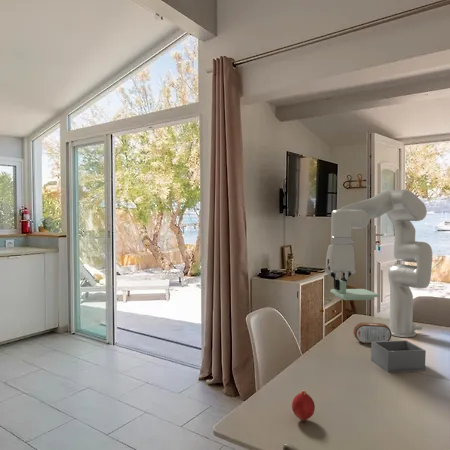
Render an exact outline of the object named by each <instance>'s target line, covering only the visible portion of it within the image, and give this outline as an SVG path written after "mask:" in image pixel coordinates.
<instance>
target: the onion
mask: <svg viewBox="0 0 450 450" xmlns="http://www.w3.org/2000/svg"><path fill="white" fill-rule="evenodd" d="M291 411H292V412H293V414H294V415H295V416H296V417H297V419H299V420H300V421H302V422H306V421H308V419H310V418H311V417H313V415H314V413H315V411H316V406H315V401H314V400H313V398H312V397H311V395H309V394H308V393H307V391H306V390H302V391H301V392H300V393H298V394H296V395H295V396H294V398H293V400H292V403H291Z"/></svg>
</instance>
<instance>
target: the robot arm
mask: <svg viewBox="0 0 450 450" xmlns="http://www.w3.org/2000/svg"><path fill="white" fill-rule="evenodd" d="M427 212H428V211H427V207H426V204H425V203H424V202H423V201H422V199H420V198H419V197H418V196H417V195H416V194H415V193H413V192H412V191H410V190H409V189H389V190H384V191H382V192H380V193H378V194H376V195H374V196H372V197H371V198H367V199H363V200H360V201H358V202H353V203H350V204H347V205H344V206H342V207H340V208H339V209H334V210H332V211H331V216H330V217H331V218H330V219H331V223H330V225H331V227H330V229H331V230H330V232H331V233H330V244H328V247H327V252H326V256H325V257H326V258H325V271H324V273H325V274H327V275H330V276H331V278H332V279H333V289H336V290H339V287H340V280H342V281H345V282H346V288H347V287H348V286H347V285H348V281H347V280H348V279H349V277H351V276H352V275H354V274H356V271H357V270H356V268H355V267H356V266H355V264H356V260H355V252H354V251H355V250H354V246H353V245H352V243H355V239H354V238H352V230H353V229H357V230H361V229H364V228H366V227H367V226H368V225H369V224H370V220H371V219H377V218H379V217H382V216H384V215H385V214H386V216H387V217H388V219H389V220H390V222H391V223H392V225H393V227H394V245H393V257H394V258H395V260H397V261H400V262H405V263H413V264H414V263H416V265H411V264H405V263H404V264H402V263H396V264H393V265H391V266H390V267H389V269H388V273H387V274H388V275H387V276H388V282H389V294H390V295H389V325H388V328H389V329H390V331H391V336H393V337H399V338H414V337H415V336H417V332H416V331H417V330H418V331H420V330H421V331H422V330H423V326H422V325H420V324H419V325H417V324H413V317H414V316H413V311H414V307H413V306H414V305H413V304H414V295H413V292H412V290H411V289H410V288H415V289H426V288H428V286H429V285H430V284H431V283H430V282H431V278H432V277H431V276H432V267H433V250H432V247H431V245H430V244H429V243H428V242H425V241H417V240H416V227H415V226H414V224H413V222H421V221H423V220H424V219H425V218H426V217H427ZM339 272H341V273H342V274H341V278H339Z"/></svg>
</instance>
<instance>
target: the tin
mask: <svg viewBox="0 0 450 450" xmlns="http://www.w3.org/2000/svg"><path fill="white" fill-rule="evenodd" d="M353 335H354V338H355V340H357V341H358V342H360V343H362V344H370V345H371V342H375V341H391V339H392V335H391V331H390V329H389V325H387V324H385V323H380V322H379V323H378V322H360V323H358V324H356V325H355V327H354V328H353Z"/></svg>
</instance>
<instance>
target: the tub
mask: <svg viewBox="0 0 450 450" xmlns="http://www.w3.org/2000/svg"><path fill="white" fill-rule="evenodd" d="M370 346H371V347H370V348H371V350H370V352H371V354H370V361H371V362H373V363H374V364H375V365H376V366H379V368H381V369H383V371H385V372H387V373H397V372H398V373H400V372H420V371H426V355H427V354H426V349H424V348H422V347H420V346H418V345H417V344H415V343H412V342H410V341H408V340H404V339H403V340H390V341H375V342H371V344H370Z"/></svg>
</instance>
